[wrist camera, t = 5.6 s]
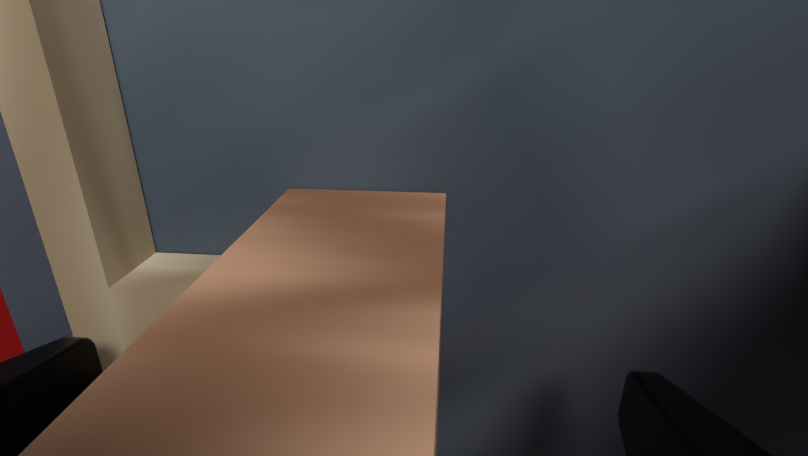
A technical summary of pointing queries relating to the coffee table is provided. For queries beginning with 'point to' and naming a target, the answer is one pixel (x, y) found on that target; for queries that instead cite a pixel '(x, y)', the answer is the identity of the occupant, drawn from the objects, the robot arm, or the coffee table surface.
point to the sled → (217, 284)
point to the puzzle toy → (8, 334)
